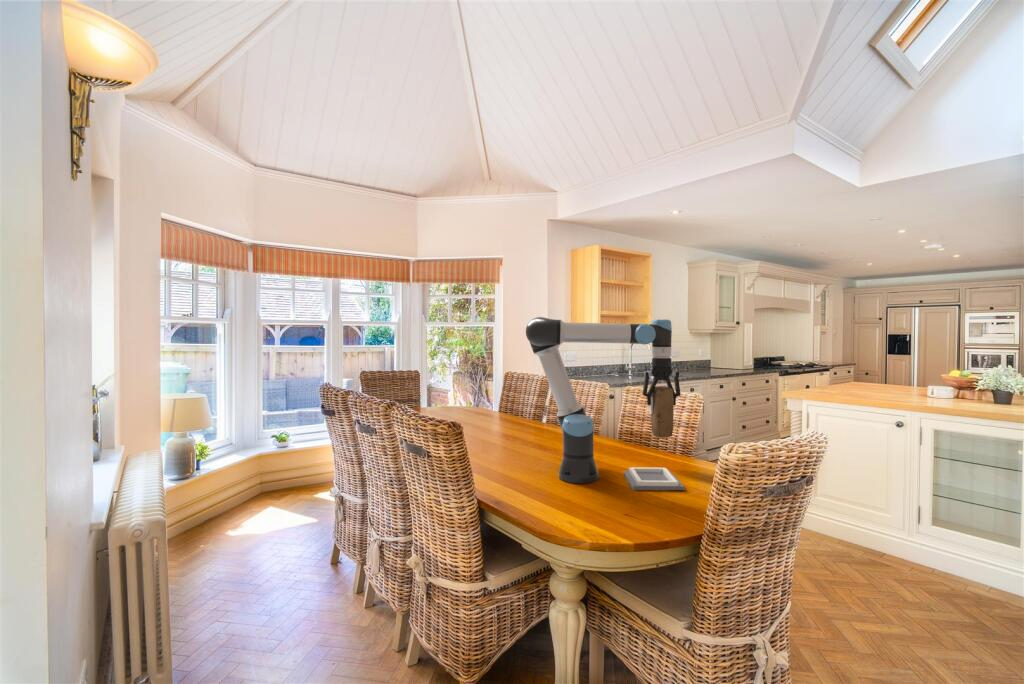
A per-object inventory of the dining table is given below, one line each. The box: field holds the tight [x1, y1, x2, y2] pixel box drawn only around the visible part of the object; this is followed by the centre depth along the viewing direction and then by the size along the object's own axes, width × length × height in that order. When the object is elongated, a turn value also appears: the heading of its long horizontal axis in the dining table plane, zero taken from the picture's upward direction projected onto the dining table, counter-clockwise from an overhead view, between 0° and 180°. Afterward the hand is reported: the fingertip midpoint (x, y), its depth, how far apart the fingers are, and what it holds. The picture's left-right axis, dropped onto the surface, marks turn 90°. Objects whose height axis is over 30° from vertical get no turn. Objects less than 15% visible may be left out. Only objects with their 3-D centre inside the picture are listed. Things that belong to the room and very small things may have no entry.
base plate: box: [623, 466, 686, 491], centre depth 175 cm, size 18×18×3 cm
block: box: [650, 385, 675, 439], centre depth 191 cm, size 11×8×20 cm
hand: (661, 413), depth 192 cm, fingers closed on block, 7 cm apart
